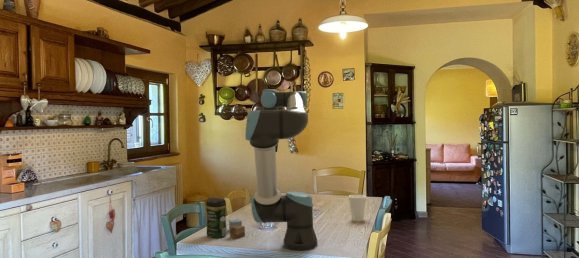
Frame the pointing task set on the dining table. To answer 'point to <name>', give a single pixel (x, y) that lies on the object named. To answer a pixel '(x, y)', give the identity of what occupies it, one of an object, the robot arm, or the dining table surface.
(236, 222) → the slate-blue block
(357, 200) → the foam cup
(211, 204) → the coffee jar
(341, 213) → the dining table surface
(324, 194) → the dining table surface
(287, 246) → the robot arm
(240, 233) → the walnut block
